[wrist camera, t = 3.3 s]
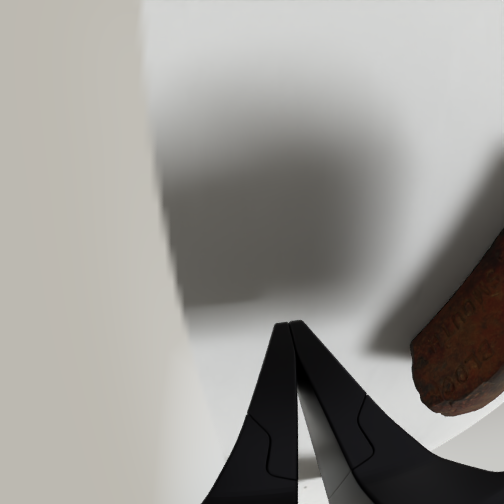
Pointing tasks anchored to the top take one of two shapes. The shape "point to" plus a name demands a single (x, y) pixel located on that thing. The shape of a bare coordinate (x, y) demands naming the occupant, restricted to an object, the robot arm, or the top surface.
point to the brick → (465, 343)
